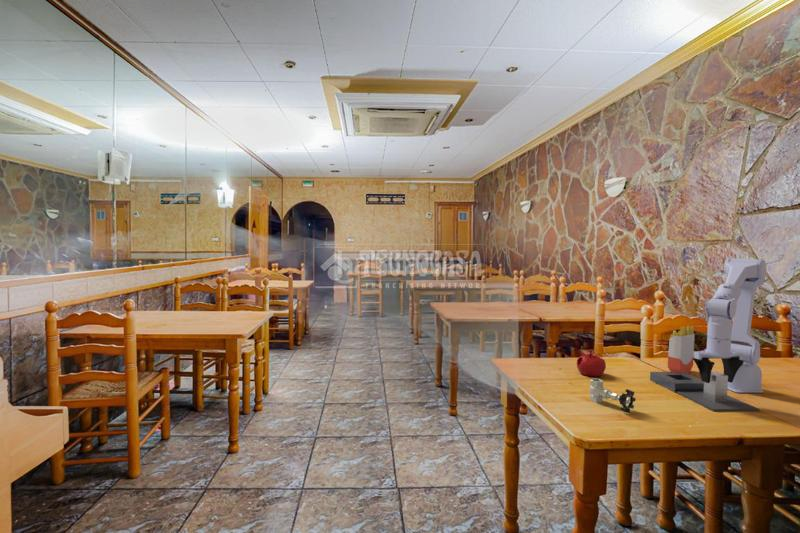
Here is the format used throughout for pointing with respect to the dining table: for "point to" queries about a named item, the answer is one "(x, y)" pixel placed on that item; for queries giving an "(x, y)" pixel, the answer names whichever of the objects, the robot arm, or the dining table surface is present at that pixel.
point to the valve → (610, 395)
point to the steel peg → (716, 387)
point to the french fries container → (681, 350)
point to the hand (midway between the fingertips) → (716, 381)
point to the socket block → (678, 381)
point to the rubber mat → (730, 405)
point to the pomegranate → (591, 364)
